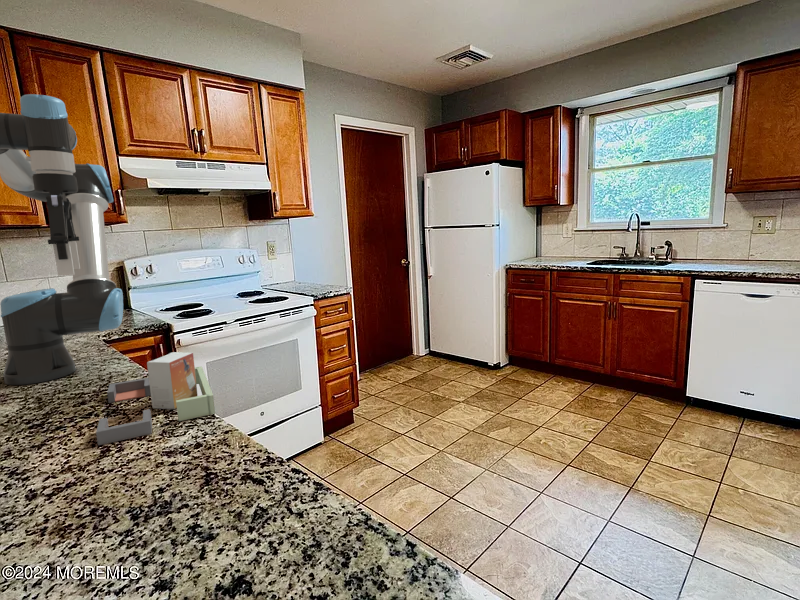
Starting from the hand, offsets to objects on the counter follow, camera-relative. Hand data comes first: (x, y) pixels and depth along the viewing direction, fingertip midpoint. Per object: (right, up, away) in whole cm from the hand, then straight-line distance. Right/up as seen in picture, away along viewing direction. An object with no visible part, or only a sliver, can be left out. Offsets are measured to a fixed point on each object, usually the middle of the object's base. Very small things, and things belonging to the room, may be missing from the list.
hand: (69, 272), depth 97 cm
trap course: (+21, -29, -2) cm, 36 cm away
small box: (+24, -29, 0) cm, 38 cm away
